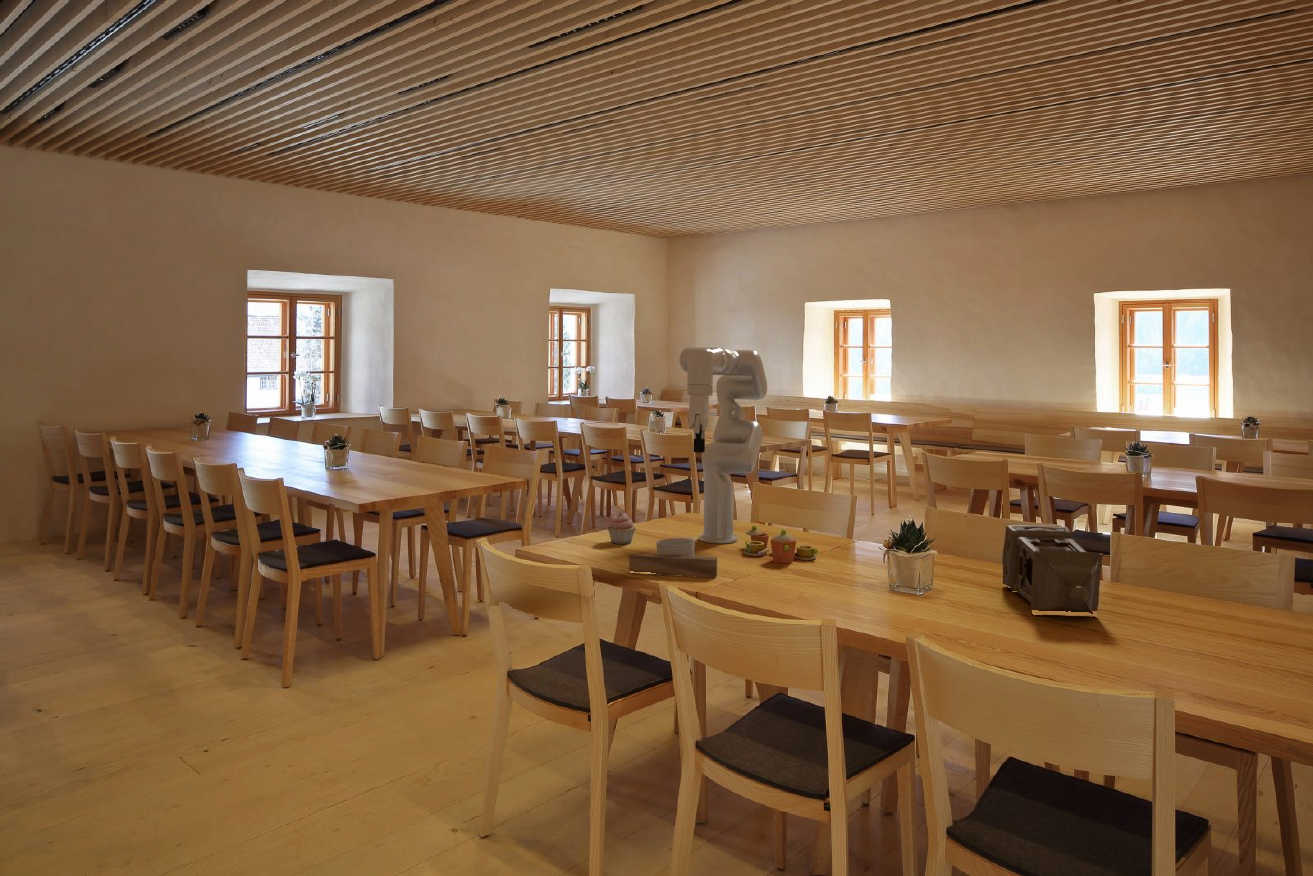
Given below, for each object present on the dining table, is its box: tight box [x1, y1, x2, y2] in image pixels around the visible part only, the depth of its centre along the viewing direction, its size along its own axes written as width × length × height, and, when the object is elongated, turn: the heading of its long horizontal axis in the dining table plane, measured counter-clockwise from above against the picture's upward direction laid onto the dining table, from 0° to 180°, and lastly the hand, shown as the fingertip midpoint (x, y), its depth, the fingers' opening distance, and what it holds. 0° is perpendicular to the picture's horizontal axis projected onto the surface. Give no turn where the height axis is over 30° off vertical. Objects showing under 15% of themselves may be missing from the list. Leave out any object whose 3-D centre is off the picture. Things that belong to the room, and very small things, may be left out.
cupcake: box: [606, 511, 637, 545], centre depth 289 cm, size 9×9×10 cm
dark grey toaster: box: [1001, 524, 1105, 614], centre depth 220 cm, size 35×18×18 cm, turn 173°
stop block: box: [628, 553, 718, 579], centre depth 250 cm, size 3×24×5 cm, turn 81°
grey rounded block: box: [655, 537, 696, 556], centre depth 258 cm, size 14×11×8 cm
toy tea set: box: [743, 525, 819, 564], centre depth 274 cm, size 26×16×10 cm, turn 41°
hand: (699, 452), depth 270 cm, fingers closed
